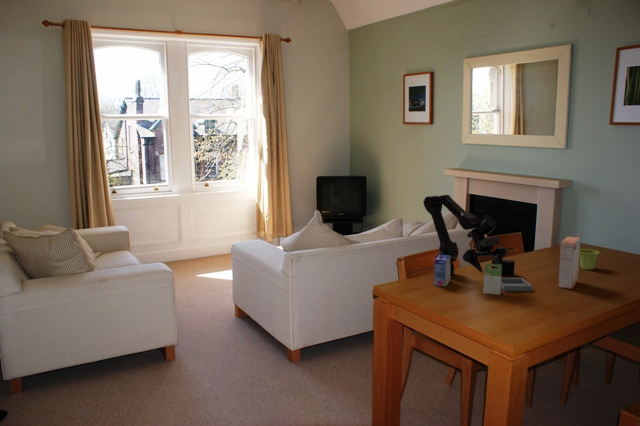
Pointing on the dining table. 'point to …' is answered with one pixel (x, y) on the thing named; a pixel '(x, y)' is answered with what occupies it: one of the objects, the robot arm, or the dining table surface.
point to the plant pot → (588, 258)
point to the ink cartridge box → (442, 270)
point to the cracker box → (569, 262)
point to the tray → (515, 285)
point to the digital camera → (506, 267)
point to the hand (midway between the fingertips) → (491, 271)
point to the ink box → (492, 279)
